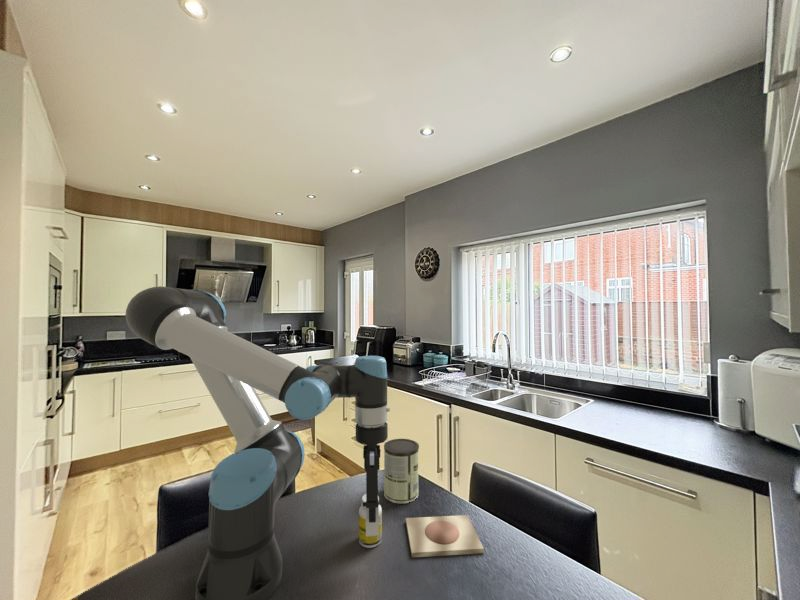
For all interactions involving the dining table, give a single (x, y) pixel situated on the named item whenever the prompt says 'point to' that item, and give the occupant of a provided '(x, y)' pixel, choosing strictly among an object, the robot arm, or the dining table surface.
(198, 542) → the dining table surface
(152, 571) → the dining table surface
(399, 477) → the coffee can
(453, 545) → the board
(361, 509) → the supplement bottle
